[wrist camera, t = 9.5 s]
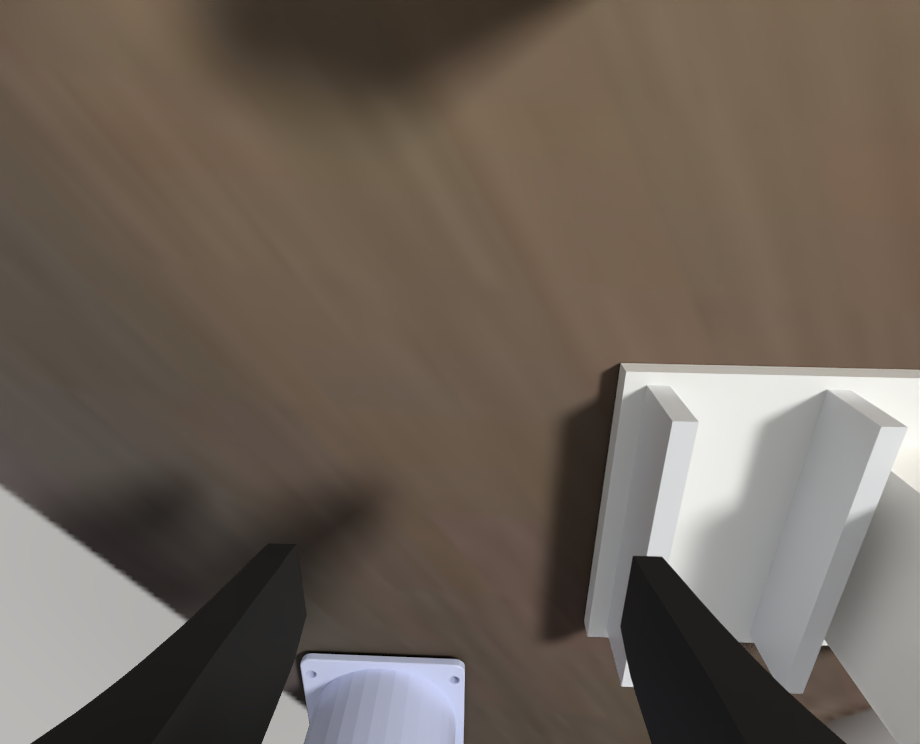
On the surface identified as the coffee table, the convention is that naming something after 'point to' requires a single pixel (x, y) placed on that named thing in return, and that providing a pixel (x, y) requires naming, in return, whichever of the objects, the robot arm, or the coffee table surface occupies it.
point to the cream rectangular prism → (886, 606)
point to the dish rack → (748, 494)
